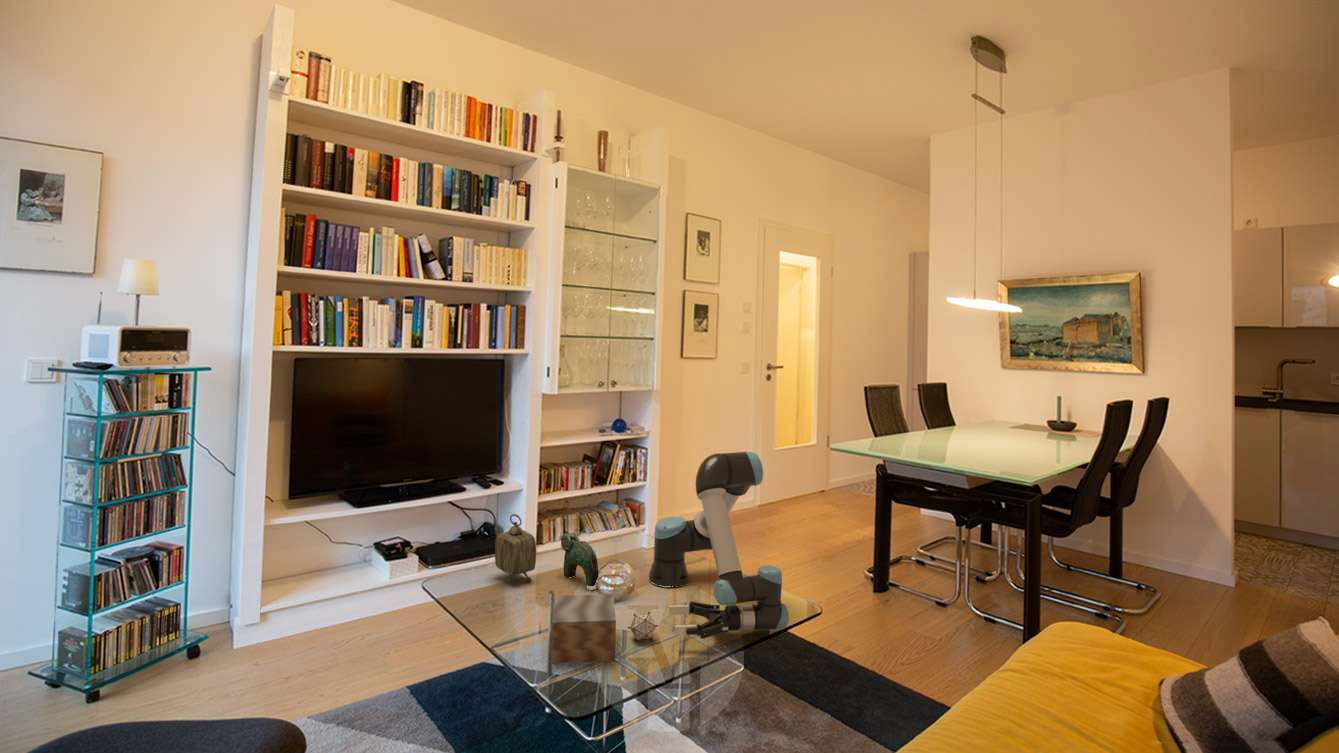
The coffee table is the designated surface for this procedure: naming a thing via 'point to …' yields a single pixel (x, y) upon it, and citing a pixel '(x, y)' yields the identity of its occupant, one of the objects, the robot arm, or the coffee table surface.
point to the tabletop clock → (515, 551)
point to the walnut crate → (583, 628)
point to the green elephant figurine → (579, 557)
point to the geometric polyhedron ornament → (642, 626)
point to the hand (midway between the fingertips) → (671, 620)
